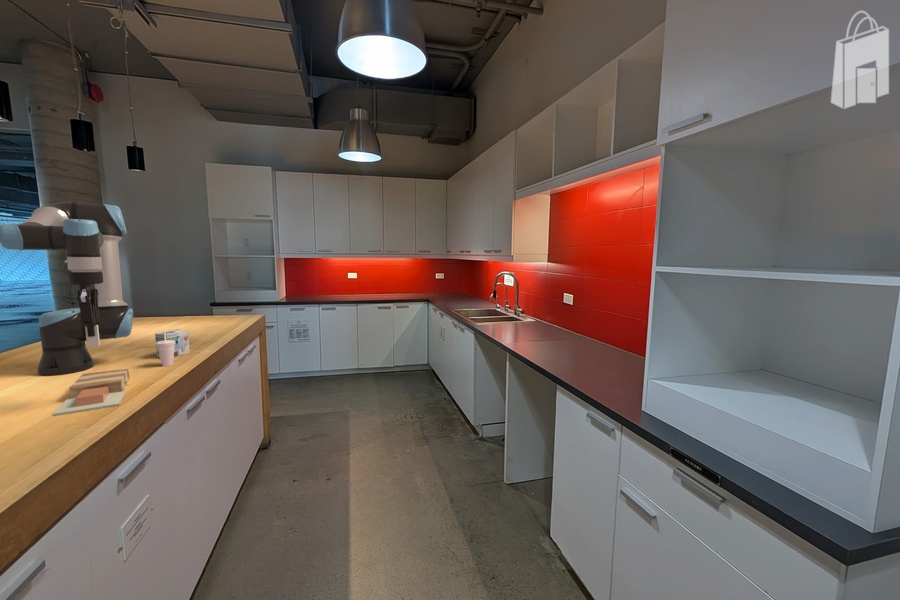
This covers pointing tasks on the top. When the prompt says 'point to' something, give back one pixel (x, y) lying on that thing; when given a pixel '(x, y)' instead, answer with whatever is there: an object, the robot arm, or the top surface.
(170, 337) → the light bulb box
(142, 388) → the top surface
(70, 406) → the mat
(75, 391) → the deck
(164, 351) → the smoothie
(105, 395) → the tile
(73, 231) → the robot arm
